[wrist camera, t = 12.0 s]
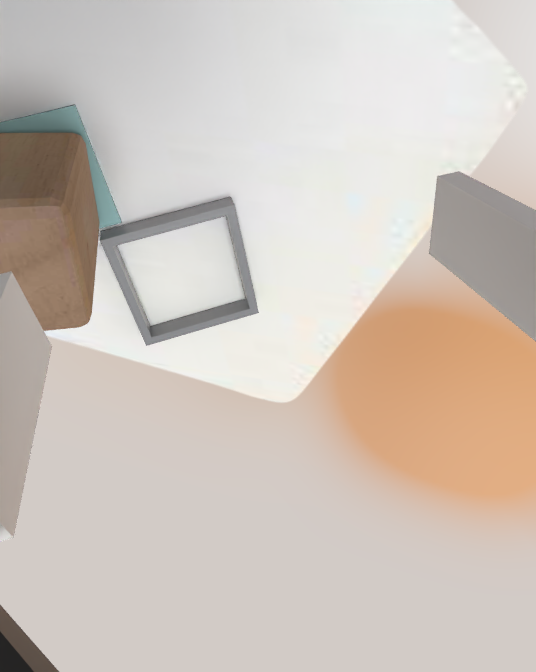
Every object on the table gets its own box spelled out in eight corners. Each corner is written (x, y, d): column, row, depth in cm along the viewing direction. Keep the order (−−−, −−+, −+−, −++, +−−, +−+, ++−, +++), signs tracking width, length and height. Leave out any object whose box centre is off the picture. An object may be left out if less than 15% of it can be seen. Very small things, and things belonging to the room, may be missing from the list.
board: (-55, 135, 42) (-56, 136, 42) (75, 104, 43) (74, 105, 43) (12, 250, 50) (11, 251, 49) (121, 221, 51) (121, 222, 50)
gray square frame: (100, 231, 51) (100, 240, 49) (230, 197, 52) (234, 204, 50) (145, 334, 60) (146, 345, 58) (254, 302, 62) (258, 312, 60)
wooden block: (101, 227, 50) (93, 331, 35) (1, 232, 48) (-56, 346, 32) (84, 130, 44) (65, 202, 29) (-31, 130, 42) (-119, 209, 26)
